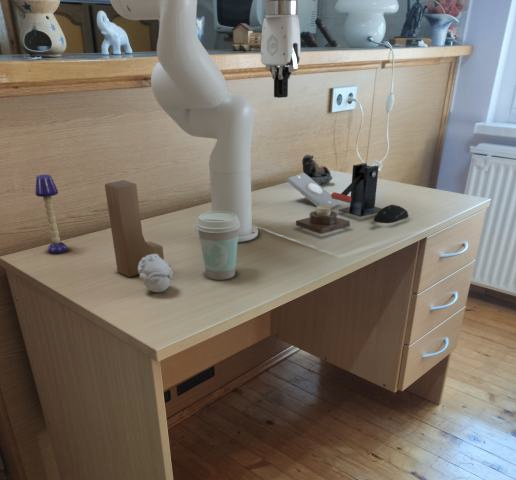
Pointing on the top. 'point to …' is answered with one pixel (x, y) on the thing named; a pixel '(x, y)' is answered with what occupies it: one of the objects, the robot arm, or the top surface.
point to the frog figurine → (155, 273)
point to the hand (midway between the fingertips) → (280, 97)
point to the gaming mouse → (391, 214)
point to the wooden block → (127, 227)
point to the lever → (349, 187)
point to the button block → (322, 223)
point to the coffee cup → (219, 243)
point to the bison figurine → (316, 170)
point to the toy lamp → (50, 210)
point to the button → (323, 210)
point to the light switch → (311, 190)
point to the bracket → (363, 192)
